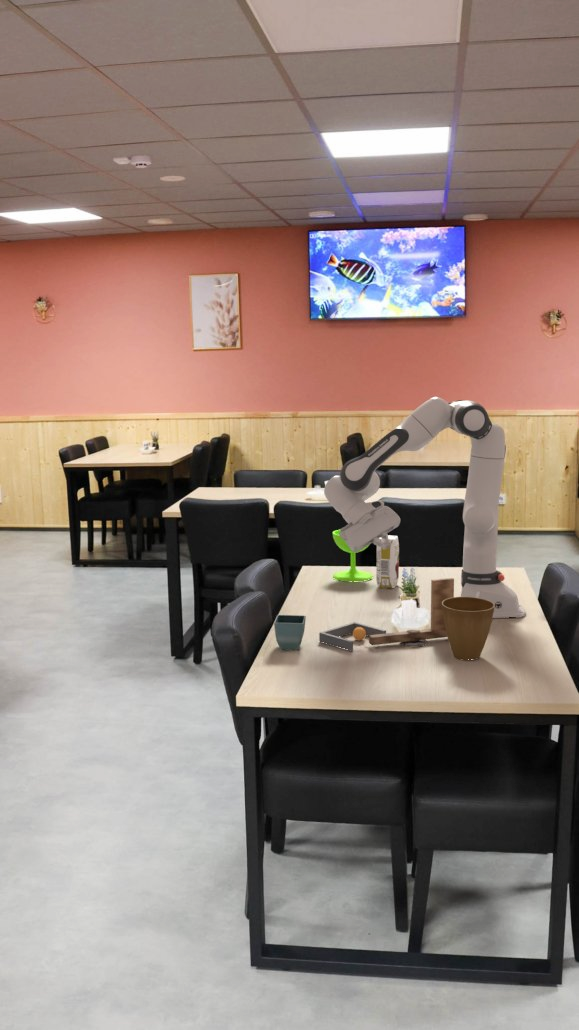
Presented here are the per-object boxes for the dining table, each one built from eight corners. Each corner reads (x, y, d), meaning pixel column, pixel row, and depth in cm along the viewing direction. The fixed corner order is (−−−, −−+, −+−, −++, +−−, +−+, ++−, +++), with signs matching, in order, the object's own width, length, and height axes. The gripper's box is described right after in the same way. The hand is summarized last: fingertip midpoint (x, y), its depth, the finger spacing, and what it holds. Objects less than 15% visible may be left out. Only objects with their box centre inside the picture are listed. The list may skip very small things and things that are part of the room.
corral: (386, 639, 286) (386, 630, 285) (350, 651, 275) (350, 641, 274) (354, 631, 295) (354, 621, 294) (319, 642, 284) (319, 632, 284)
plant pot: (430, 655, 270) (430, 602, 267) (464, 645, 279) (466, 593, 276) (468, 668, 259) (470, 613, 256) (504, 658, 267) (505, 604, 265)
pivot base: (408, 637, 288) (408, 635, 288) (431, 641, 283) (431, 639, 283) (395, 643, 282) (395, 641, 282) (418, 648, 277) (418, 646, 277)
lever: (449, 633, 288) (450, 576, 285) (455, 637, 284) (456, 579, 281) (368, 642, 280) (368, 584, 277) (373, 646, 276) (373, 587, 273)
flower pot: (306, 643, 283) (306, 615, 282) (303, 652, 274) (303, 623, 273) (277, 642, 284) (277, 614, 282) (274, 652, 275) (273, 622, 274)
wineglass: (379, 580, 360) (379, 534, 357) (340, 583, 355) (340, 537, 352) (364, 571, 375) (364, 527, 372) (327, 574, 371) (327, 530, 367)
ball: (359, 637, 288) (368, 629, 287) (359, 645, 285) (368, 637, 283) (349, 630, 287) (358, 622, 286) (350, 638, 284) (359, 630, 282)
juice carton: (375, 588, 348) (375, 538, 344) (379, 583, 356) (380, 534, 352) (395, 589, 345) (395, 539, 342) (399, 584, 353) (399, 535, 350)
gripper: (338, 526, 297) (365, 557, 291) (385, 497, 306) (412, 527, 300) (334, 536, 302) (361, 567, 297) (381, 508, 311) (408, 537, 306)
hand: (388, 547), depth 299 cm, fingers closed
